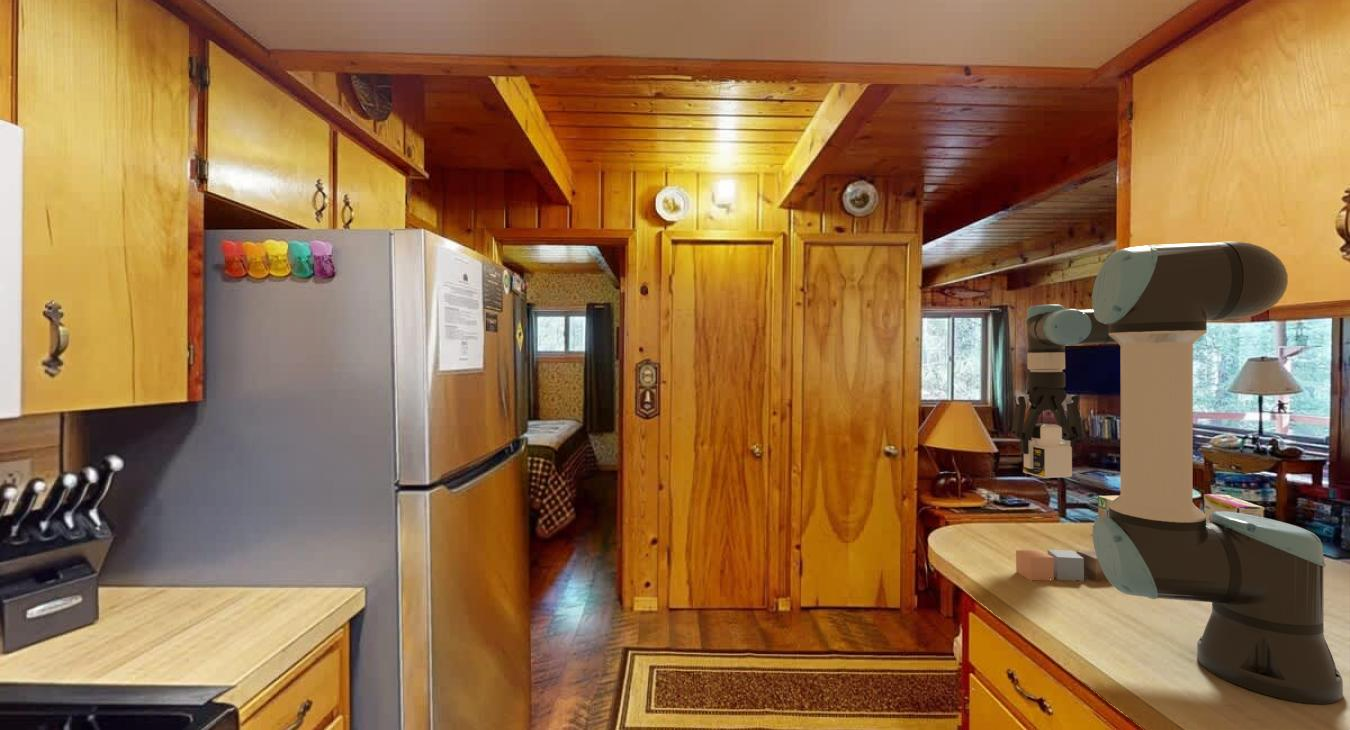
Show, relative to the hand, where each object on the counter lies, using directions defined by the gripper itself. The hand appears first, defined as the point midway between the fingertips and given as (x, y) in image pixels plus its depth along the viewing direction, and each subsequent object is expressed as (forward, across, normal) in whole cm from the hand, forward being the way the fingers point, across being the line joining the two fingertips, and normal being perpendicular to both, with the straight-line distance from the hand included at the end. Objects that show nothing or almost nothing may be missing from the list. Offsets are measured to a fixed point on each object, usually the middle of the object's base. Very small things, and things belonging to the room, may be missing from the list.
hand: (1046, 467), depth 136 cm
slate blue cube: (+22, +2, +11) cm, 24 cm away
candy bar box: (+22, -33, +10) cm, 41 cm away
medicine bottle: (+2, 0, 0) cm, 2 cm away
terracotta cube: (+22, +9, +11) cm, 26 cm away
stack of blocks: (+22, -31, -14) cm, 41 cm away
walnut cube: (+22, -4, +11) cm, 25 cm away
